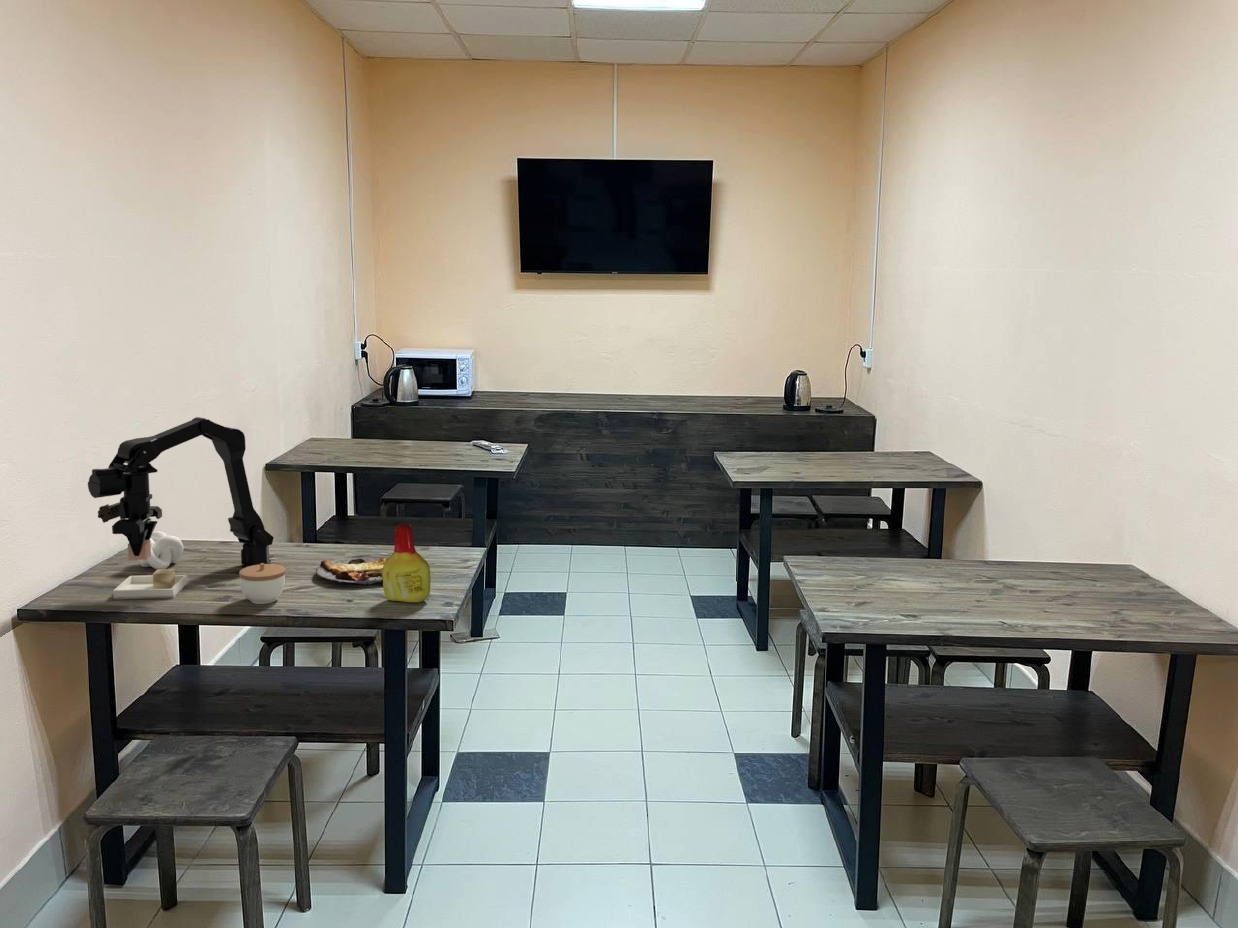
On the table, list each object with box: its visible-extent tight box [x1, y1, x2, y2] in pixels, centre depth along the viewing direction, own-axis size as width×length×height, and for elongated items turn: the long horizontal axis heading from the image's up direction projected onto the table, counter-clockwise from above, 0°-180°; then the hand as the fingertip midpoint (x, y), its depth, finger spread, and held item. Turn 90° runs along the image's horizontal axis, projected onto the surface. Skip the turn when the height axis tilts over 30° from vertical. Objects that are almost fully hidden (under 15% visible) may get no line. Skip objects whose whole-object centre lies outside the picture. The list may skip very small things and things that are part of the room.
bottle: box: [381, 523, 431, 603], centre depth 240 cm, size 12×6×20 cm, turn 83°
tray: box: [112, 574, 189, 600], centre depth 244 cm, size 14×12×2 cm
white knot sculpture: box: [137, 530, 184, 570], centre depth 263 cm, size 11×12×9 cm
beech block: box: [152, 568, 176, 589], centre depth 246 cm, size 4×4×4 cm
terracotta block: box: [127, 540, 151, 561], centre depth 239 cm, size 4×4×4 cm
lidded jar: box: [238, 563, 286, 605], centre depth 239 cm, size 11×11×9 cm
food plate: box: [315, 554, 391, 586], centre depth 262 cm, size 25×23×4 cm
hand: (139, 553), depth 239 cm, fingers closed on terracotta block, 4 cm apart
